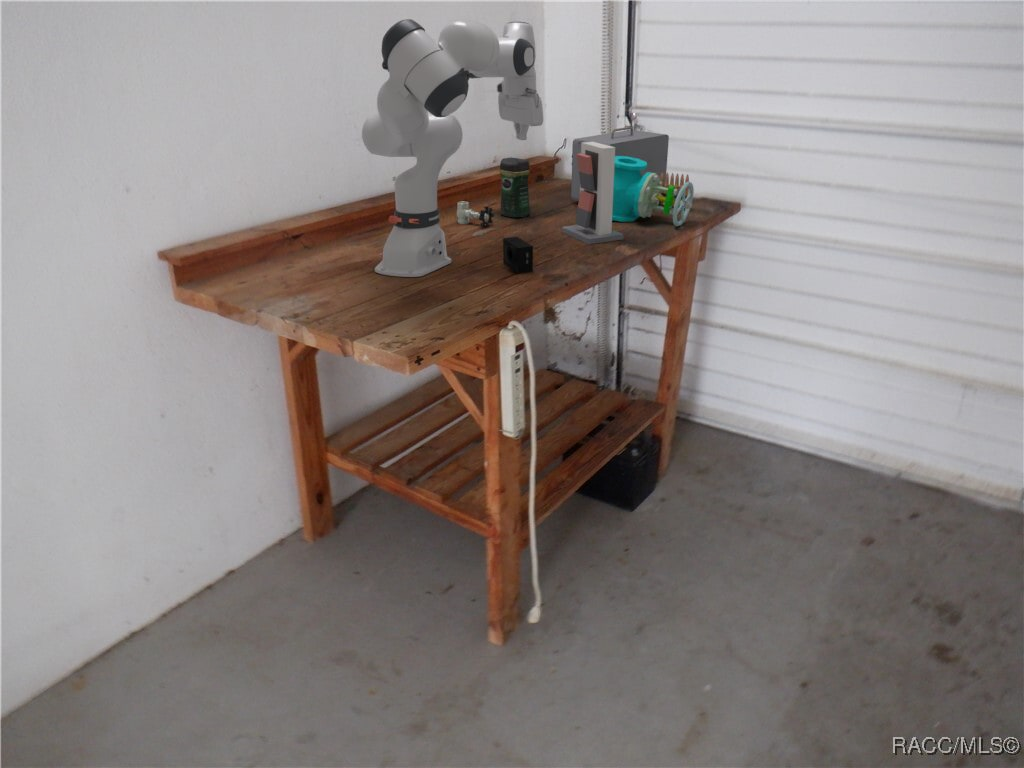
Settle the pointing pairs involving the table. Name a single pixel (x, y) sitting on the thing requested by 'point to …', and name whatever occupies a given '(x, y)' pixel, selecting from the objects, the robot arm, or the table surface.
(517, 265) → the digital camera
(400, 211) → the robot arm
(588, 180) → the upper rocker
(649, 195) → the valve
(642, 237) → the table surface
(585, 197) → the lower rocker
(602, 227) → the tower
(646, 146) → the vintage electronic device
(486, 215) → the valve
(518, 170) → the coffee jar
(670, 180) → the ammunition clip
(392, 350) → the table surface
